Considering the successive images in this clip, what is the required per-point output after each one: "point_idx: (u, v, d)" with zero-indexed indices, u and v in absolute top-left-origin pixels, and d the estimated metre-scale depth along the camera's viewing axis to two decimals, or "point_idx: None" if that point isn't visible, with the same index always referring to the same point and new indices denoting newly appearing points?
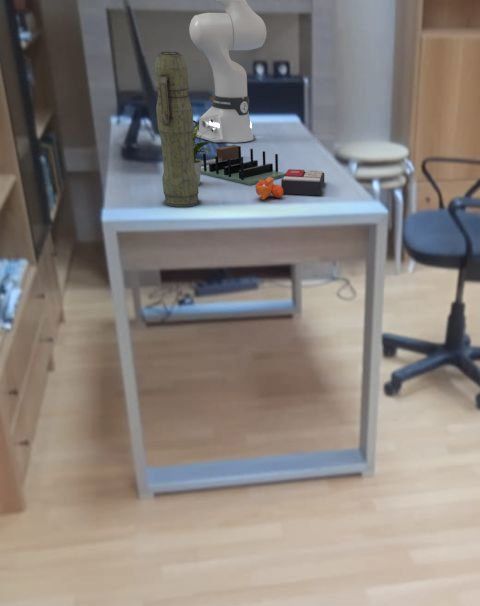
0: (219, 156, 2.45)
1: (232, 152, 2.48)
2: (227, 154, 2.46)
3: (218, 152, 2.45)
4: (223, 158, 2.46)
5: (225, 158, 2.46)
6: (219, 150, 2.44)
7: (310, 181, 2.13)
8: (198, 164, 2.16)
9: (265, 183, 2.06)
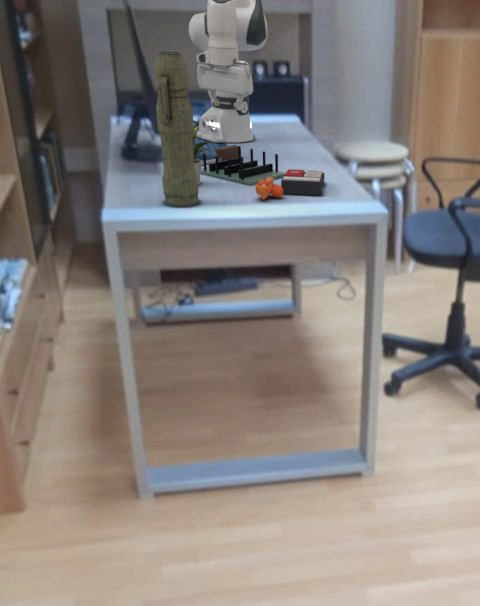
0: (219, 156, 2.45)
1: (232, 152, 2.48)
2: (227, 154, 2.46)
3: (218, 152, 2.45)
4: (223, 158, 2.46)
5: (225, 158, 2.46)
6: (219, 150, 2.44)
7: (310, 181, 2.13)
8: (198, 164, 2.16)
9: (265, 183, 2.06)
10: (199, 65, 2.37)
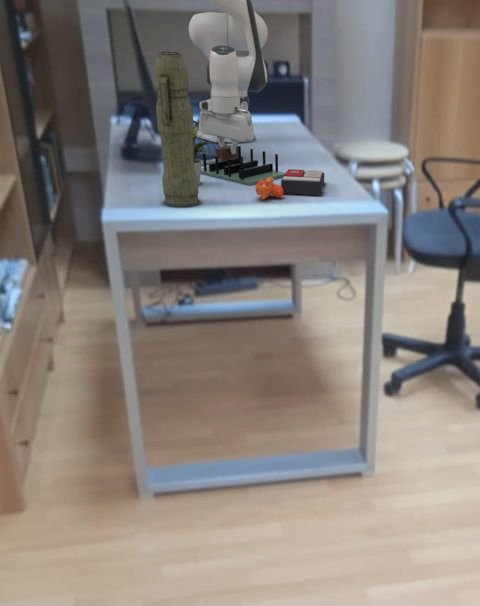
0: (219, 156, 2.45)
1: None
2: (227, 154, 2.46)
3: (218, 152, 2.45)
4: (223, 158, 2.46)
5: (225, 158, 2.46)
6: (219, 150, 2.44)
7: (310, 181, 2.13)
8: (198, 164, 2.16)
9: (265, 183, 2.06)
10: (202, 112, 2.44)
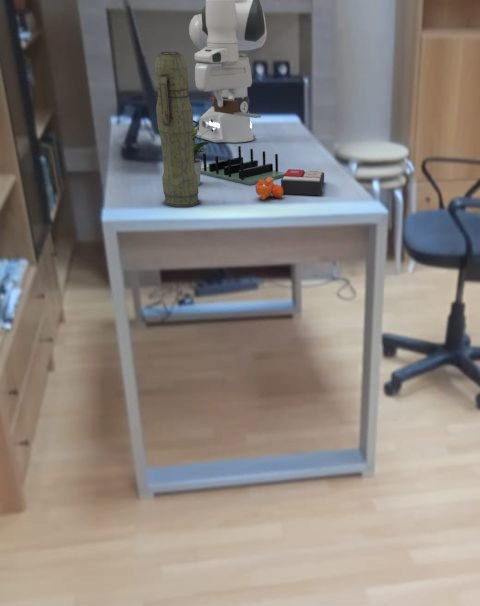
0: (236, 109, 2.31)
1: None
2: None
3: (235, 105, 2.30)
4: None
5: None
6: (236, 102, 2.30)
7: (310, 181, 2.13)
8: (198, 164, 2.16)
9: (265, 183, 2.06)
10: (210, 66, 2.20)
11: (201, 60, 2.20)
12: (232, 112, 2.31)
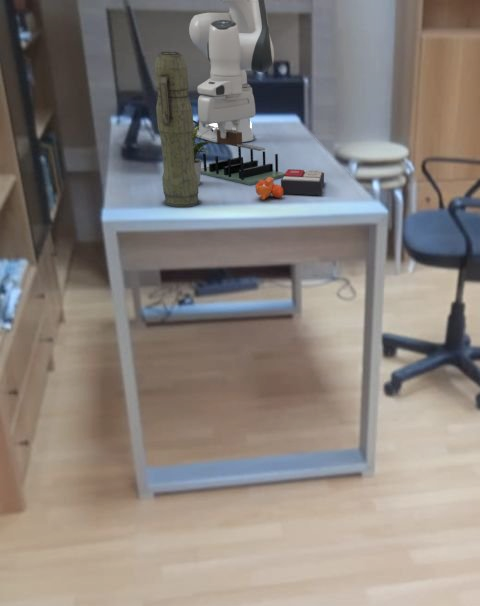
0: (239, 141, 2.28)
1: None
2: None
3: (238, 137, 2.27)
4: None
5: None
6: (239, 134, 2.27)
7: (310, 181, 2.13)
8: (198, 164, 2.16)
9: (265, 183, 2.06)
10: (213, 99, 2.17)
11: (204, 93, 2.17)
12: (235, 144, 2.27)
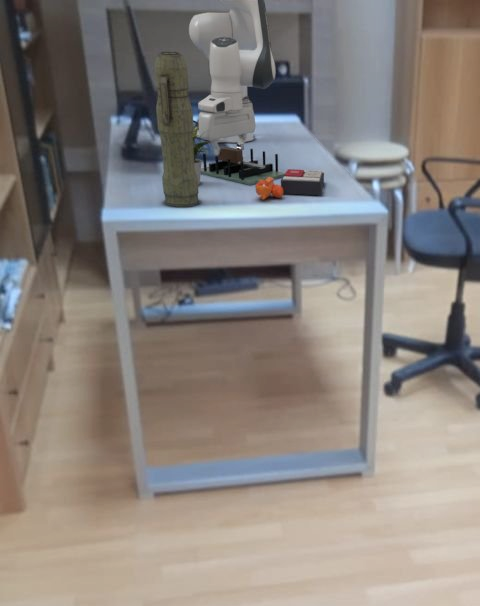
0: (240, 158, 2.30)
1: None
2: None
3: (239, 154, 2.30)
4: None
5: None
6: (240, 152, 2.30)
7: (310, 181, 2.13)
8: (198, 164, 2.16)
9: (265, 183, 2.06)
10: (213, 116, 2.19)
11: (205, 109, 2.19)
12: (236, 161, 2.30)
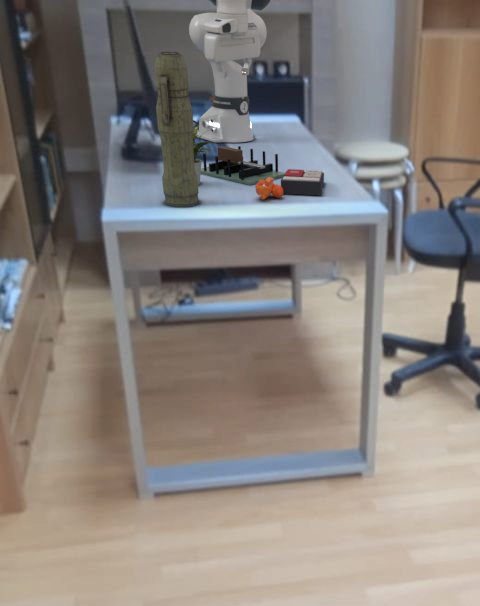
0: (240, 158, 2.30)
1: None
2: None
3: (239, 154, 2.30)
4: None
5: None
6: (240, 152, 2.30)
7: (310, 181, 2.13)
8: (198, 164, 2.16)
9: (265, 183, 2.06)
10: (219, 37, 2.21)
11: (211, 30, 2.21)
12: (236, 161, 2.30)
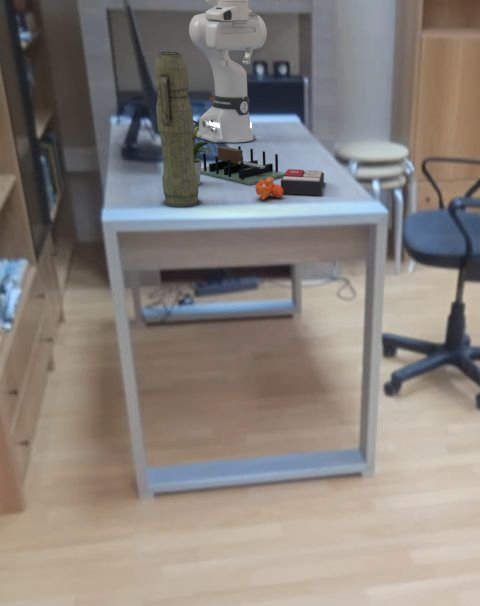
0: (240, 158, 2.30)
1: None
2: None
3: (239, 154, 2.30)
4: None
5: None
6: (240, 152, 2.30)
7: (310, 181, 2.13)
8: (198, 164, 2.16)
9: (265, 183, 2.06)
10: (220, 24, 2.22)
11: (212, 18, 2.22)
12: (236, 161, 2.30)
